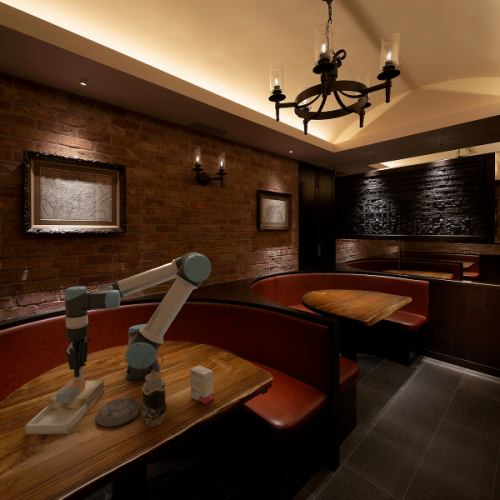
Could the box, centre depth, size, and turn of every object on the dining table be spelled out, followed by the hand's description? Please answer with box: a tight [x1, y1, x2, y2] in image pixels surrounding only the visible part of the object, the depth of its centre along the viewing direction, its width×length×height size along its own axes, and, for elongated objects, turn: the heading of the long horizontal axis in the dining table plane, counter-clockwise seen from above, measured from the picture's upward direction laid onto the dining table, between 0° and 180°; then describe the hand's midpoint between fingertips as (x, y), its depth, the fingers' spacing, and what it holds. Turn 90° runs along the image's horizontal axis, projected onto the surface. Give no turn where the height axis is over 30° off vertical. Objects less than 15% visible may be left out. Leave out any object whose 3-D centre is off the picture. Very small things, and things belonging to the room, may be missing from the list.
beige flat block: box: [48, 380, 105, 412], centre depth 113 cm, size 14×13×5 cm
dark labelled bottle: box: [140, 351, 168, 427], centre depth 101 cm, size 9×8×25 cm
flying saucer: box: [95, 397, 142, 428], centre depth 104 cm, size 15×15×6 cm
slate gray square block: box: [56, 387, 78, 403], centre depth 106 cm, size 5×5×3 cm
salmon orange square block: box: [64, 379, 86, 394], centre depth 111 cm, size 5×5×3 cm
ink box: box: [189, 364, 214, 405], centre depth 114 cm, size 9×5×12 cm, turn 54°
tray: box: [24, 404, 88, 435], centre depth 100 cm, size 14×12×3 cm
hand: (79, 383), depth 114 cm, fingers closed
